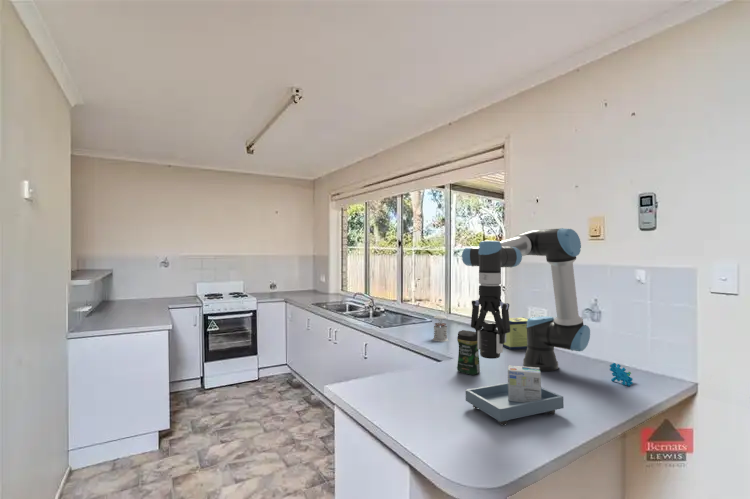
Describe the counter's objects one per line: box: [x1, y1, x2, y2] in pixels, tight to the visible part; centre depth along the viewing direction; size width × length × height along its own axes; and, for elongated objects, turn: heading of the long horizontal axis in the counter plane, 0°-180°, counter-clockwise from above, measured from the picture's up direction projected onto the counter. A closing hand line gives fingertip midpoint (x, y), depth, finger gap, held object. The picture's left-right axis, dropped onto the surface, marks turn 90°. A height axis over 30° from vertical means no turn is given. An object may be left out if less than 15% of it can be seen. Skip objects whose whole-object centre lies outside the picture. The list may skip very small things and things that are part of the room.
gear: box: [609, 362, 634, 387], centre depth 160 cm, size 11×6×10 cm
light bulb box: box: [507, 364, 542, 403], centre depth 134 cm, size 11×7×11 cm, turn 71°
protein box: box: [503, 316, 529, 351], centre depth 218 cm, size 10×16×16 cm
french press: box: [432, 298, 449, 343], centre depth 238 cm, size 10×12×25 cm
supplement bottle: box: [479, 320, 501, 360], centre depth 135 cm, size 7×7×12 cm
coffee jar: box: [456, 329, 481, 376], centre depth 174 cm, size 10×8×19 cm
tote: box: [465, 382, 564, 426], centre depth 132 cm, size 18×26×6 cm
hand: (489, 350), depth 135 cm, fingers closed on supplement bottle, 7 cm apart
